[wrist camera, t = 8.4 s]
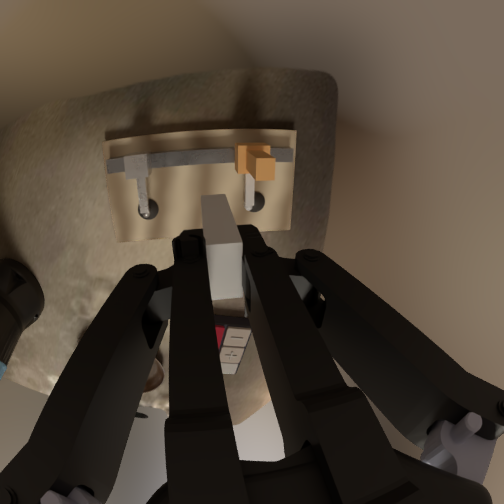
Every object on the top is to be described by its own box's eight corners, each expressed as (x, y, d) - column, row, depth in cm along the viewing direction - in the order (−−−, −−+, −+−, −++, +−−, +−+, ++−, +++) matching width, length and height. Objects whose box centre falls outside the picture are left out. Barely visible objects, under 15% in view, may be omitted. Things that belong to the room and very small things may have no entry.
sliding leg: (233, 207, 40) (245, 240, 31) (233, 141, 35) (246, 152, 26) (259, 206, 41) (280, 237, 32) (261, 141, 36) (285, 152, 27)
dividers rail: (117, 215, 38) (109, 229, 33) (109, 154, 33) (98, 160, 29) (285, 203, 42) (296, 215, 38) (289, 143, 38) (301, 148, 33)
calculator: (254, 329, 52) (236, 376, 57) (250, 315, 55) (233, 363, 61) (198, 323, 48) (188, 374, 54) (197, 309, 52) (187, 359, 58)
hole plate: (119, 238, 41) (116, 243, 40) (105, 140, 33) (101, 142, 32) (287, 225, 46) (290, 230, 44) (293, 129, 38) (296, 130, 37)
